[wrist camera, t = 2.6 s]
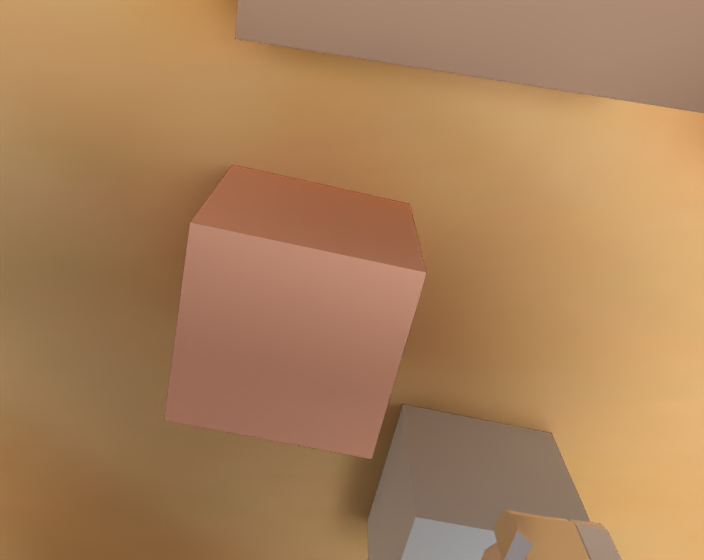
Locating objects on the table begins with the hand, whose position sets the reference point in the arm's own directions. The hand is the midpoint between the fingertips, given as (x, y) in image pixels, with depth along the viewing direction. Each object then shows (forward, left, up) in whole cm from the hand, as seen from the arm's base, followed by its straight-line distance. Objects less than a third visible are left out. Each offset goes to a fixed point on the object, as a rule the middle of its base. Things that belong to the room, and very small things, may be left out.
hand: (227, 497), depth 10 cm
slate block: (-7, -7, -10) cm, 14 cm away
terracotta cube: (0, -1, -10) cm, 10 cm away
